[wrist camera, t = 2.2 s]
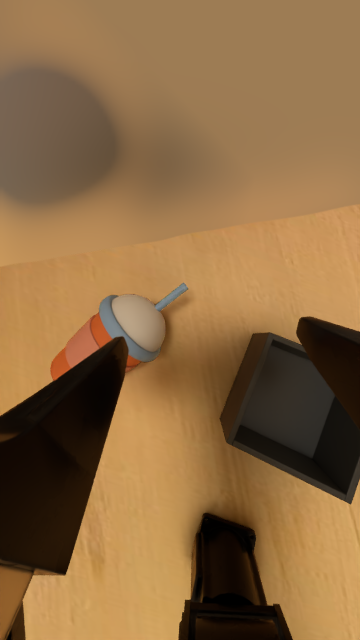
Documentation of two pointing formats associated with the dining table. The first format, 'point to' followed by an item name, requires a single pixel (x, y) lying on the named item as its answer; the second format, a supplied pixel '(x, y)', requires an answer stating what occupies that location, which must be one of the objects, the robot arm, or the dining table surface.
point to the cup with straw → (119, 330)
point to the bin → (292, 417)
